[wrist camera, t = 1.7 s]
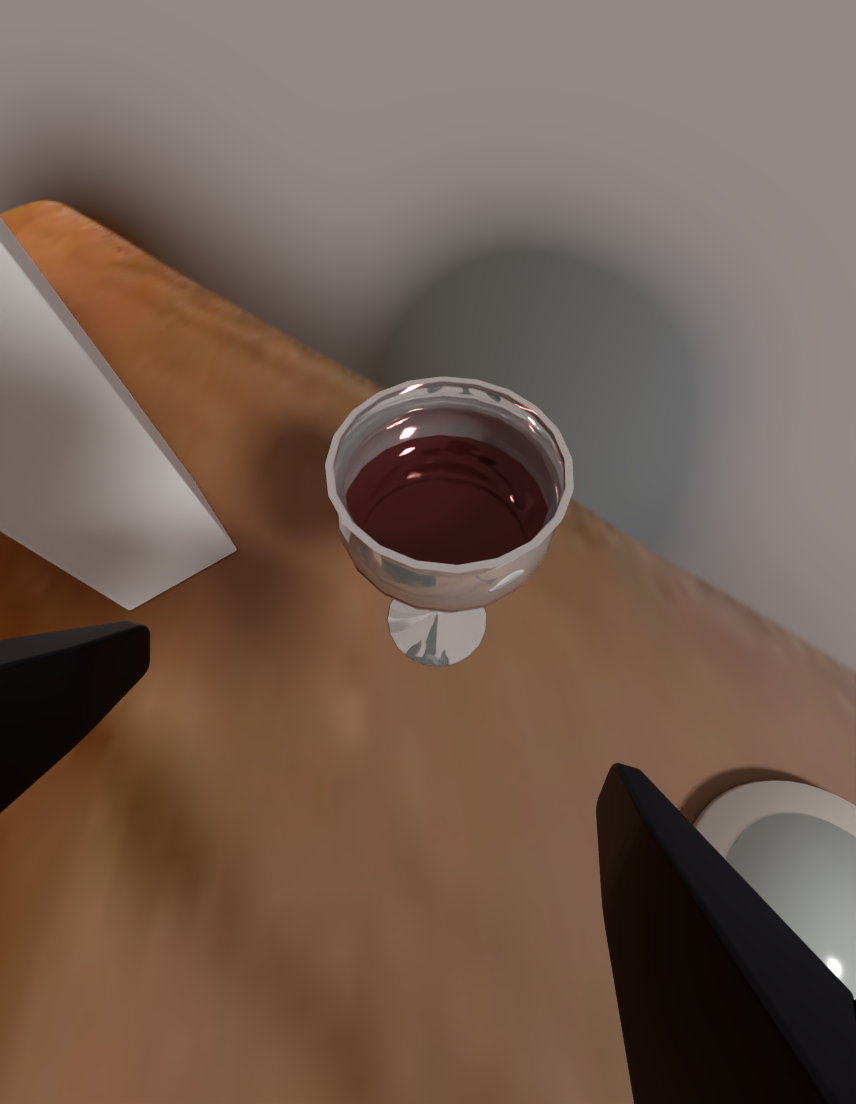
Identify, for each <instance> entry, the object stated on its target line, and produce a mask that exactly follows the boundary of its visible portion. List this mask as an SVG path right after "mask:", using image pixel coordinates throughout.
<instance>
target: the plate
mask: <svg viewBox="0 0 856 1104" xmlns="http://www.w3.org/2000/svg"><path fill="white" fill-rule="evenodd" d="M693 826H694V827H695V828H696V829H697V830H698V831H699V832H700V833H701V834H702V835H703V836H704V837H705V839H706V840H707V841H708V842H709V843H710V844H711V845H712V846H713V847H714V848H715V849H716V850H717V851H718V852H719V853H720V854H721V855H722V856H723V857H724V859H725V860H726V861H727V862H728V863H729V864H730V865H731V866H732V867H733V868H734V869H735V870H736V871H737V872H738V873H739V874H740V875H741V876H742V877H743V878H744V880H745V881H746V882H747V883H748V884H749V885H750V886H751V887H752V888H753V889H754V890H755V891H756V892H757V893H758V894H759V895H760V896H761V897H762V898H763V900H764V901H765V902H766V903H767V904H768V905H769V906H770V907H771V908H772V909H773V910H774V911H775V912H776V913H777V914H778V915H779V916H780V917H781V918H782V919H783V921H784V922H785V923H786V924H787V925H788V926H789V927H790V928H791V929H792V930H793V931H794V932H795V933H796V934H797V935H798V936H799V937H800V938H801V939H802V941H803V942H804V943H805V944H806V945H807V946H808V947H809V948H810V949H811V950H812V951H813V952H814V953H815V954H816V955H817V956H818V957H819V958H820V959H821V960H822V962H823V963H824V964H825V965H826V966H827V967H828V968H829V969H830V970H831V971H832V972H833V973H834V974H835V975H836V976H837V977H838V978H839V979H840V980H841V982H842V983H843V984H844V985H845V986H846V987H847V988H848V989H849V990H850V991H851V992H852V994H853V997H854V1000H856V806H855V805H853V804H851V803H849V802H848V801H846V800H844V799H843V798H841V797H838V796H836V795H834V794H832V793H830V792H827V791H825V790H822V789H819V788H816V787H813V786H810V785H807V784H802V783H796V782H791V781H759V782H750V783H746V784H742V785H739V786H736V787H733V788H731V789H729V790H727V791H725V792H723V793H722V794H720V795H719V796H718V797H716V798H715V799H713V800H712V801H711V802H710V803H709V804H708V805H707V806H706V807H705V808H704V809H703V810H702V812H701V813H700V815H699V816H698V818H697V819H696V821H695V822H694V824H693Z"/></svg>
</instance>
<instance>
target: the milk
mask: <svg viewBox="0 0 856 1104" xmlns="http://www.w3.org/2000/svg"><path fill="white" fill-rule="evenodd" d="M0 531H1V532H2V533H4V534H5V535H7V536H9V537H10V538H12V539H14V540H15V541H17V542H18V543H20V544H22V545H23V546H25V547H27V548H28V549H30V550H31V551H33V552H35V553H36V554H38V555H40V556H41V557H43V558H44V559H46V560H48V561H49V562H51V563H53V564H54V565H56V566H57V567H59V568H61V569H62V570H64V571H65V572H67V573H69V574H70V575H72V576H74V577H75V578H77V579H78V580H80V581H82V582H83V583H85V584H87V585H88V586H90V587H91V588H93V589H95V590H96V591H98V592H100V593H101V594H103V595H104V596H106V597H108V598H109V599H111V600H113V601H114V602H116V603H117V604H119V605H121V606H122V607H124V608H126V609H127V610H132V609H134V608H136V607H138V606H139V605H141V604H143V603H145V602H147V601H148V600H150V599H152V598H154V597H155V596H157V595H159V594H161V593H163V592H164V591H166V590H168V589H170V588H171V587H173V586H175V585H177V584H178V583H180V582H182V581H184V580H186V579H187V578H189V577H191V576H193V575H194V574H196V573H198V572H200V571H202V570H203V569H205V568H207V567H209V566H210V565H212V564H214V563H216V562H217V561H219V560H221V559H223V558H225V557H226V556H228V555H230V554H232V553H233V552H235V551H236V550H237V549H236V547H235V545H234V544H233V542H232V541H231V539H230V537H229V536H228V534H227V532H226V531H225V529H224V528H223V526H222V524H221V523H220V521H219V520H218V518H217V516H216V515H215V513H214V512H213V510H212V508H211V507H210V505H209V504H208V502H207V500H206V499H205V497H204V495H203V494H202V492H201V491H200V489H199V487H198V486H197V484H196V483H195V481H194V480H193V478H192V477H191V475H190V474H189V473H188V471H187V470H186V469H185V467H184V466H183V465H182V463H181V462H180V460H179V459H178V458H177V456H176V455H175V454H174V452H173V451H172V450H171V448H170V447H169V446H168V444H167V443H166V441H165V440H164V439H163V437H162V436H161V435H160V433H159V432H158V431H157V429H156V428H155V426H154V425H153V424H152V422H151V421H150V420H149V418H148V417H147V416H146V414H145V413H144V412H143V410H142V409H141V407H140V406H139V405H138V403H137V402H136V401H135V399H134V398H133V397H132V395H131V394H130V393H129V391H128V390H127V388H126V387H125V386H124V384H123V383H122V382H121V380H120V379H119V378H118V376H117V375H116V373H115V372H114V371H113V369H112V368H111V367H110V365H109V364H108V363H107V361H106V360H105V359H104V357H103V356H102V354H101V353H100V352H99V350H98V349H97V348H96V346H95V345H94V344H93V342H92V341H91V340H90V338H89V337H88V335H87V334H86V333H85V331H84V330H83V329H82V327H81V326H80V325H79V323H78V322H77V320H76V319H75V318H74V316H73V315H72V314H71V312H70V311H69V310H68V308H67V307H66V306H65V304H64V303H63V301H62V300H61V299H60V297H59V296H58V295H57V293H56V292H55V291H54V289H53V288H52V286H51V285H50V284H49V282H48V281H47V280H46V278H45V277H44V276H43V274H42V273H41V272H40V270H39V269H38V267H37V266H36V265H35V263H34V262H33V261H32V259H31V258H30V257H29V255H28V254H27V253H26V251H25V250H24V248H23V247H22V246H21V244H20V243H19V242H18V240H17V239H16V238H15V236H14V235H13V233H12V232H11V231H10V229H9V228H8V227H7V225H6V224H5V223H4V221H3V220H2V219H1V217H0Z"/></svg>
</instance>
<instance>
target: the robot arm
mask: <svg viewBox="0 0 856 1104" xmlns="http://www.w3.org/2000/svg"><path fill="white" fill-rule="evenodd" d="M149 664H150V631H149V629H148V627H146V626H145V625H142V624H138V623H135V622H131V621H120V622H114V623H108V624H101V625H95V626H88V627H82V628H75V629H69V630H62V631H56V632H50V633H43V634H37V635H30V636H24V637H17V638H11V639H4V640H0V813H1V812H2V811H4V810H5V809H6V808H7V807H8V806H9V805H10V804H11V803H12V802H14V801H15V800H16V799H17V798H18V797H19V796H20V795H21V794H23V793H24V792H25V791H26V790H27V789H28V788H29V787H30V786H31V785H33V784H34V783H35V782H36V781H37V780H38V779H39V778H40V777H42V776H43V775H44V774H45V773H46V772H47V771H48V770H49V769H50V768H52V767H53V766H54V765H55V764H56V763H57V762H58V761H59V760H61V759H62V758H63V757H64V756H65V755H66V754H67V753H68V752H70V751H71V750H72V749H73V748H74V747H75V746H76V745H77V744H78V743H79V742H80V741H81V740H82V739H84V738H85V737H86V736H87V735H88V733H89V732H90V731H91V730H92V729H93V728H94V727H95V726H96V725H97V724H98V723H99V722H100V721H101V720H102V719H103V718H104V717H105V716H106V715H107V714H108V713H109V712H110V711H111V710H112V708H113V707H114V706H115V705H116V704H117V703H118V702H119V701H120V700H121V699H122V698H123V697H124V696H125V695H126V694H127V693H128V692H129V691H130V689H131V688H132V687H133V686H134V685H135V684H136V683H137V682H138V681H139V680H140V679H141V678H142V677H143V676H144V674H145V673H146V671H147V669H148V667H149ZM596 818H597V834H598V850H599V866H600V881H601V896H602V908H603V916H604V923H605V930H606V936H607V942H608V948H609V954H610V960H611V966H612V972H613V978H614V984H615V990H616V996H617V1002H618V1008H619V1015H620V1021H621V1027H622V1033H623V1039H624V1045H625V1051H626V1057H627V1063H628V1069H629V1075H630V1081H631V1087H632V1093H633V1100H634V1104H856V1000H854V997H853V994H852V992H851V991H850V990H849V989H848V988H847V987H846V986H845V985H844V984H843V983H842V982H841V980H840V979H839V978H838V977H837V976H836V975H835V974H834V973H833V972H832V971H831V970H830V969H829V968H828V967H827V966H826V965H825V964H824V963H823V962H822V960H821V959H820V958H819V957H818V956H817V955H816V954H815V953H814V952H813V951H812V950H811V949H810V948H809V947H808V946H807V945H806V944H805V943H804V942H803V941H802V939H801V938H800V937H799V936H798V935H797V934H796V933H795V932H794V931H793V930H792V929H791V928H790V927H789V926H788V925H787V924H786V923H785V922H784V921H783V919H782V918H781V917H780V916H779V915H778V914H777V913H776V912H775V911H774V910H773V909H772V908H771V907H770V906H769V905H768V904H767V903H766V902H765V901H764V900H763V898H762V897H761V896H760V895H759V894H758V893H757V892H756V891H755V890H754V889H753V888H752V887H751V886H750V885H749V884H748V883H747V882H746V881H745V880H744V878H743V877H742V876H741V875H740V874H739V873H738V872H737V871H736V870H735V869H734V868H733V867H732V866H731V865H730V864H729V863H728V862H727V861H726V860H725V859H724V857H723V856H722V855H721V854H720V853H719V852H718V851H717V850H716V849H715V848H714V847H713V846H712V845H711V844H710V843H709V842H708V841H707V840H706V839H705V837H704V836H703V835H702V834H701V833H700V832H699V831H698V830H697V829H696V828H695V827H694V826H693V825H692V824H691V823H690V822H689V821H688V820H687V819H686V818H685V816H684V815H683V814H682V813H681V812H680V811H679V810H678V809H677V808H676V807H675V806H674V805H673V804H672V803H671V802H670V801H669V800H668V799H667V798H666V796H665V795H664V794H663V793H662V792H661V791H660V790H659V789H658V788H657V787H656V786H655V785H654V784H653V783H652V782H651V781H650V780H649V779H648V778H647V777H646V775H645V774H644V773H643V772H642V771H641V770H639V769H637V768H634V767H631V766H627V765H624V764H620V763H615V764H613V765H612V766H611V768H610V770H609V772H608V775H607V777H606V780H605V782H604V785H603V787H602V790H601V792H600V795H599V797H598V801H597V807H596Z"/></svg>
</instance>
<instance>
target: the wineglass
mask: <svg viewBox="0 0 856 1104" xmlns="http://www.w3.org/2000/svg"><path fill="white" fill-rule="evenodd" d="M325 469H326V478H327V487H328V496H329V498H330V500H331V501H332V503H333V505H334V507H335V509H336V513H337V522H338V530H339V537H340V539H341V541H342V543H343V545H344V547H345V548H346V550H347V552H348V554H349V556H350V558H351V560H352V561H353V563H354V565H355V567H356V569H357V570H358V571H359V572H360V573H361V574H362V575H363V576H364V577H365V578H366V579H367V580H368V581H369V582H370V583H372V584H373V585H374V586H375V587H376V588H377V589H378V590H379V591H380V592H382V593H383V594H384V595H385V596H387V597H389V598H392V599H393V601H392V603H391V604H390V610H389V616H388V622H389V628H390V634H391V635H392V637H393V639H394V641H395V643H396V645H397V647H398V648H399V649H400V650H401V651H403V652H404V653H405V654H406V655H407V656H408V657H409V658H411V659H413V660H415V661H417V662H420V663H422V664H425V665H433V666H444V665H449V664H454V663H457V662H458V661H460V660H462V659H464V658H466V657H467V656H469V655H470V654H471V653H472V652H473V651H474V649H475V648H476V647H477V646H478V645H479V644H480V641H481V639H482V637H483V634H484V632H485V624H486V614H485V610H484V607H487V606H489V605H491V604H492V603H494V602H496V601H498V600H500V599H502V598H504V597H505V596H507V595H509V594H511V593H513V592H515V591H516V590H517V589H518V588H519V587H520V586H521V585H522V584H523V582H524V581H525V580H526V579H527V578H528V577H529V576H530V575H531V574H532V573H533V571H534V570H535V569H536V568H537V567H538V566H539V565H540V564H541V563H542V561H543V560H544V559H545V557H546V555H547V552H548V549H549V547H550V544H551V541H552V539H553V536H554V534H555V531H556V526H557V525H558V524H559V523H560V522H561V521H562V519H563V517H564V514H565V511H566V509H567V506H568V503H569V501H570V498H571V495H572V493H573V488H574V486H573V466H572V457H571V455H570V453H569V451H568V448H567V446H566V444H565V442H564V440H563V437H562V435H561V433H560V431H559V430H558V429H557V427H556V426H555V425H554V424H553V423H552V422H551V421H550V420H549V419H548V418H547V417H546V416H545V415H544V413H543V412H542V411H541V410H540V409H539V408H538V407H537V406H535V405H533V404H532V403H530V402H528V401H526V400H525V399H523V398H522V397H520V396H518V395H517V394H515V393H513V392H512V391H510V390H508V389H505V388H502V387H499V386H496V385H492V384H489V383H486V382H483V381H480V380H475V379H465V378H453V377H435V378H428V379H419V380H412V381H407V382H405V383H402V384H399V385H397V386H394V387H392V388H389V389H386V390H383V391H381V392H378V393H377V394H375V395H374V396H372V397H371V398H370V399H368V400H367V401H365V402H364V403H363V404H361V405H360V406H358V407H357V408H356V409H354V410H353V411H352V412H351V413H350V414H349V416H348V417H347V418H346V420H345V421H344V422H343V424H342V425H341V426H340V428H339V429H338V430H337V432H336V433H335V434H334V436H333V439H332V443H331V446H330V449H329V453H328V456H327V460H326V463H325Z"/></svg>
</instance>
